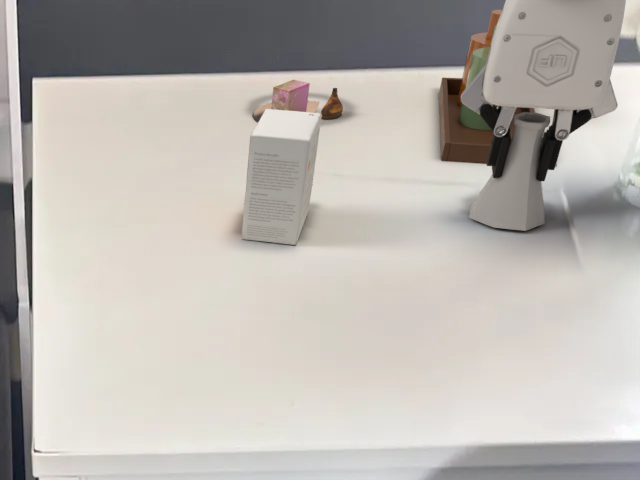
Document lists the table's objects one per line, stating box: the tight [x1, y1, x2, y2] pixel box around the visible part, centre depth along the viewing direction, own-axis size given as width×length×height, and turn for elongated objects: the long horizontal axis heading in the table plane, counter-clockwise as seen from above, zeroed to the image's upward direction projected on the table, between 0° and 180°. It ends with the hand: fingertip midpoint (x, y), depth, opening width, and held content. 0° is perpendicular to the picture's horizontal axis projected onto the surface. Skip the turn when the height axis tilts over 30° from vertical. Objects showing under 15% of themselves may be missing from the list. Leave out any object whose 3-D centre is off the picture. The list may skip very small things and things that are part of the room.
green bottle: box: [458, 25, 513, 130], centre depth 113 cm, size 6×6×11 cm
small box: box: [241, 109, 322, 246], centre depth 93 cm, size 8×6×10 cm
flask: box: [468, 112, 551, 232], centre depth 92 cm, size 7×7×10 cm
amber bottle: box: [457, 9, 502, 107], centre depth 118 cm, size 6×6×11 cm
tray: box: [438, 77, 536, 165], centre depth 114 cm, size 10×25×3 cm, turn 162°
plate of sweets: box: [251, 79, 344, 123], centre depth 121 cm, size 12×12×4 cm
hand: (518, 172), depth 93 cm, fingers closed on flask, 3 cm apart
